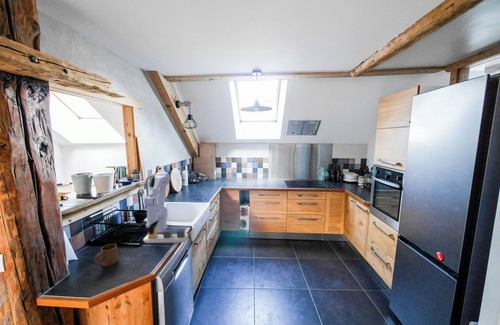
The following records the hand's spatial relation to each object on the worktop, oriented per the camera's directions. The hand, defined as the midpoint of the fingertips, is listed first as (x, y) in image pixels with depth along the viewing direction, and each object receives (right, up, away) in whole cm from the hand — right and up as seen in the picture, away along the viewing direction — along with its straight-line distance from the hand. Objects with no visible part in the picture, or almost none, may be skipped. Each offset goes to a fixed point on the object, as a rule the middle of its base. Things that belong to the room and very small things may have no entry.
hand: (152, 232), depth 139 cm
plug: (0, -2, 0) cm, 2 cm away
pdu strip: (+9, -6, +1) cm, 11 cm away
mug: (-13, -9, -26) cm, 31 cm away
